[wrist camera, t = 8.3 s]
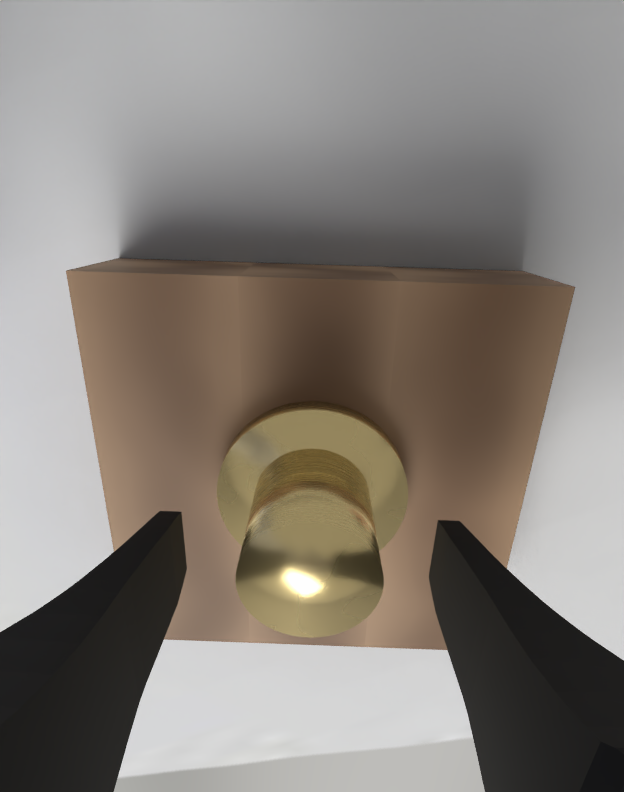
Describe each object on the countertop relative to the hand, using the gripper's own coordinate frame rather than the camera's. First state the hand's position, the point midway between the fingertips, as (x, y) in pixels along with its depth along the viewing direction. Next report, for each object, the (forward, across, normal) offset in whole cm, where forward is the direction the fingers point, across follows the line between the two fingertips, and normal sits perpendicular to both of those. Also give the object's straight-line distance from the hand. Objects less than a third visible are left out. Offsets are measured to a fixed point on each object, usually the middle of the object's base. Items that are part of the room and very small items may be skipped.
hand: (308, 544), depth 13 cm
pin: (+6, 0, 0) cm, 6 cm away
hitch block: (+6, 0, 0) cm, 6 cm away
